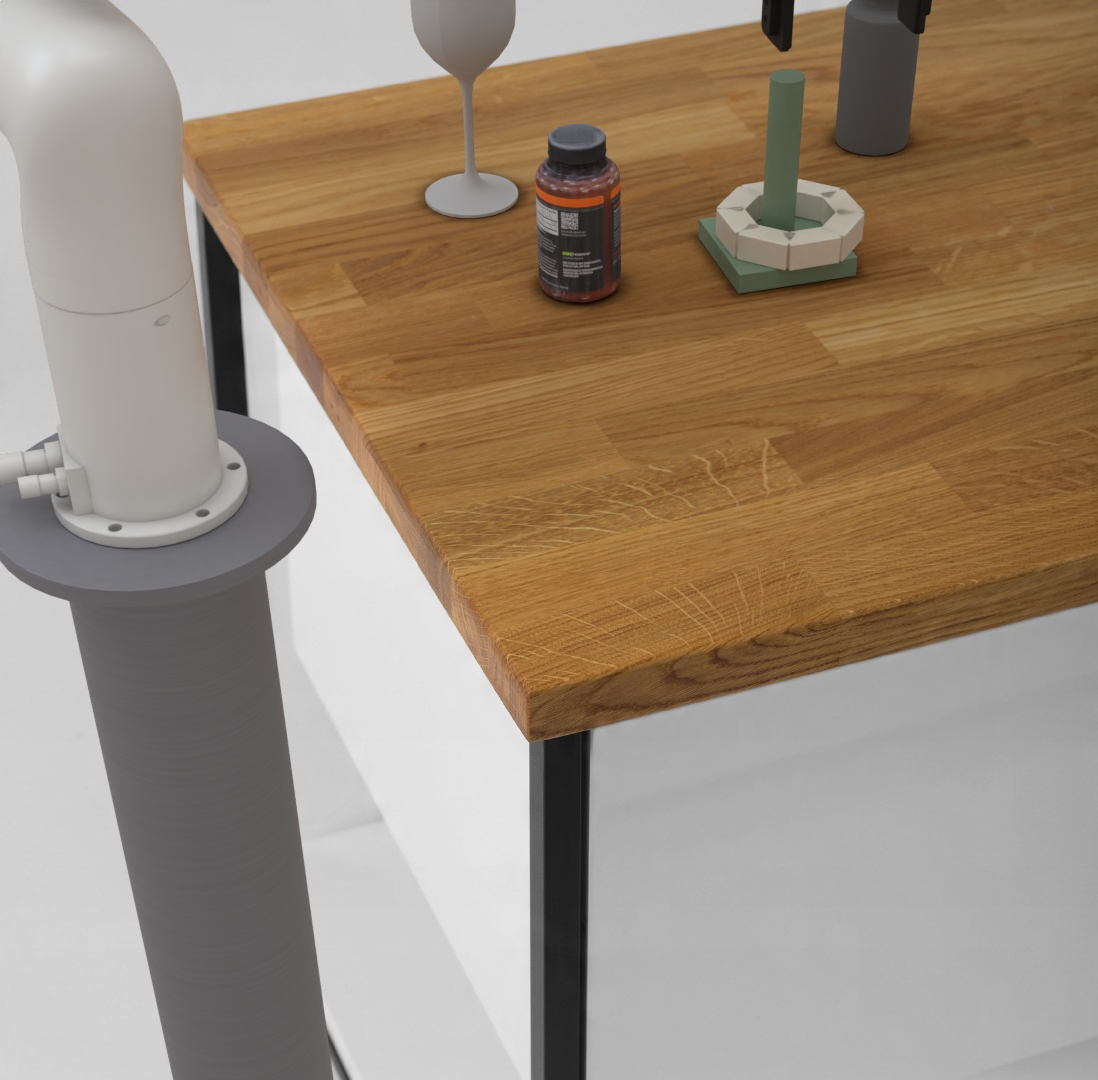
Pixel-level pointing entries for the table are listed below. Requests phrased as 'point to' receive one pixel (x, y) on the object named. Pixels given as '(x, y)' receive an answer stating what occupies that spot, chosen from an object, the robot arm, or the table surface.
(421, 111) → the table surface
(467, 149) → the wineglass
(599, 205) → the supplement bottle
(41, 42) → the robot arm
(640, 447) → the table surface
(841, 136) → the bottle
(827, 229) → the ring
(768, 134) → the stand
